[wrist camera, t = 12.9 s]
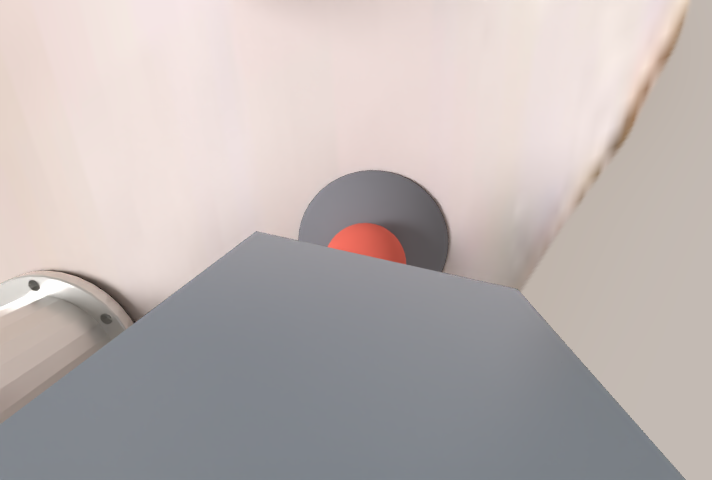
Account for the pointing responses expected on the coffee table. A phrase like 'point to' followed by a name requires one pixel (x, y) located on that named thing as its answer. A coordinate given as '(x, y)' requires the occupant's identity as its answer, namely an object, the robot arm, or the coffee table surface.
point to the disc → (380, 214)
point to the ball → (369, 242)
